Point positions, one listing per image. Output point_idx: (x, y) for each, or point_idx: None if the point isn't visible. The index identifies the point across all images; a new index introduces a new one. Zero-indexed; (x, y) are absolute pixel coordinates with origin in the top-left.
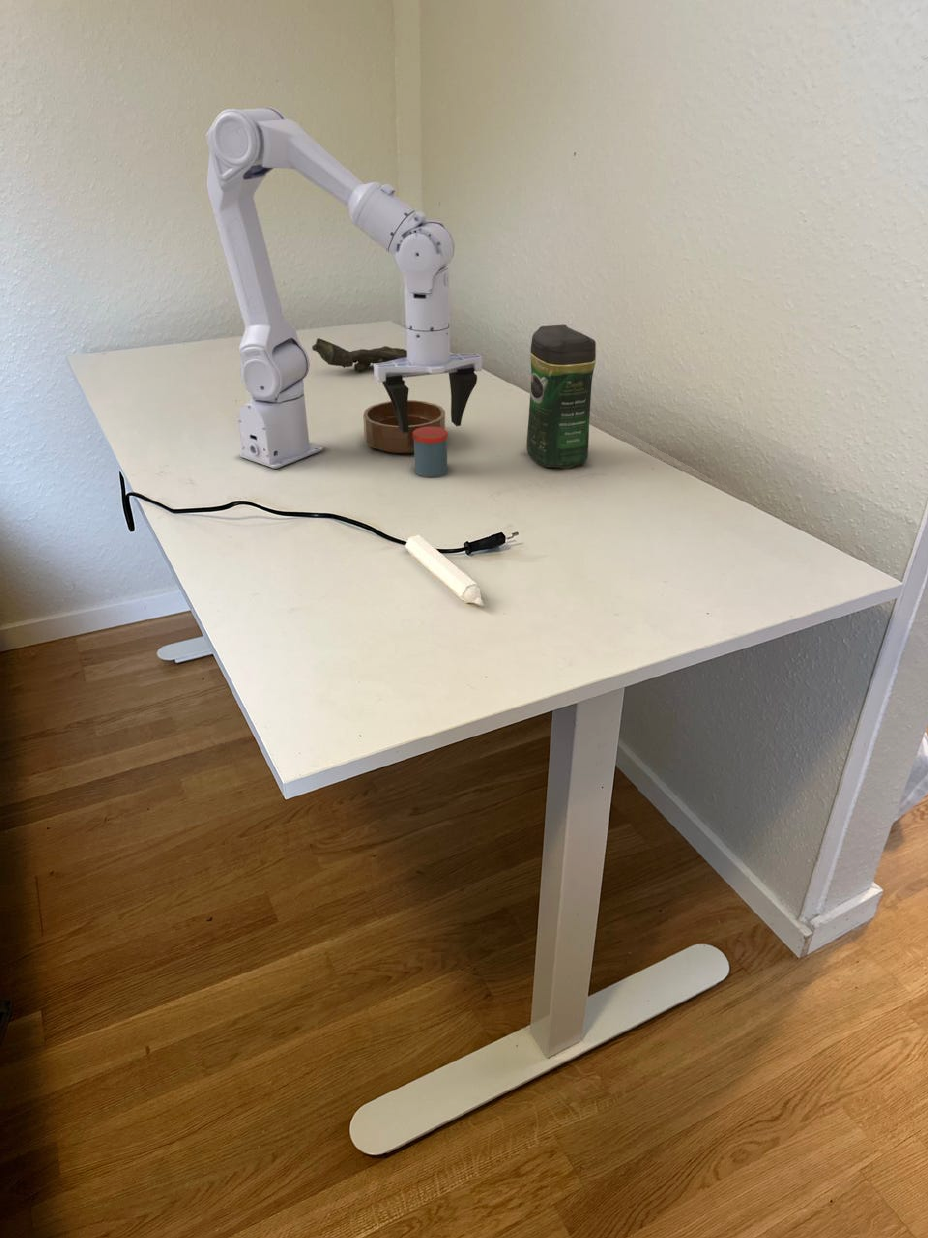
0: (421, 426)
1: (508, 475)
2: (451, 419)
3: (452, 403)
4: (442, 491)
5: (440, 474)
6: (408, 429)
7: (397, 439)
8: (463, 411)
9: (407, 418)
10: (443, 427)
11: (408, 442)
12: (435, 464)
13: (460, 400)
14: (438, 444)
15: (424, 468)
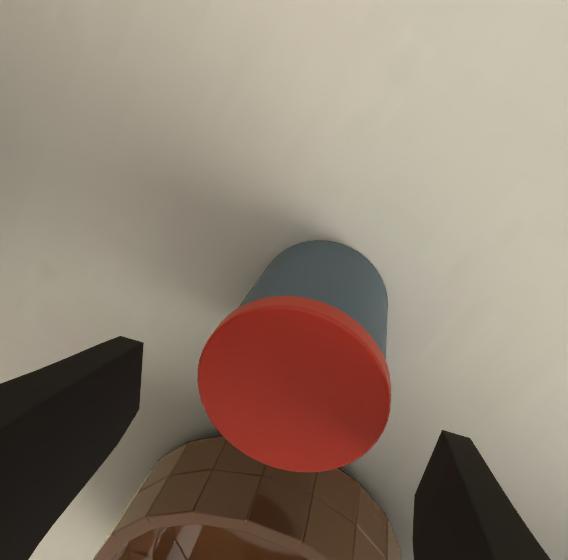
0: (241, 515)
1: (77, 91)
2: (133, 417)
3: (69, 484)
4: (399, 93)
5: (315, 242)
6: (299, 529)
7: (345, 518)
8: (49, 365)
9: (472, 493)
10: (142, 492)
11: (311, 484)
12: (331, 260)
13: (6, 418)
14: (297, 295)
15: (374, 282)
